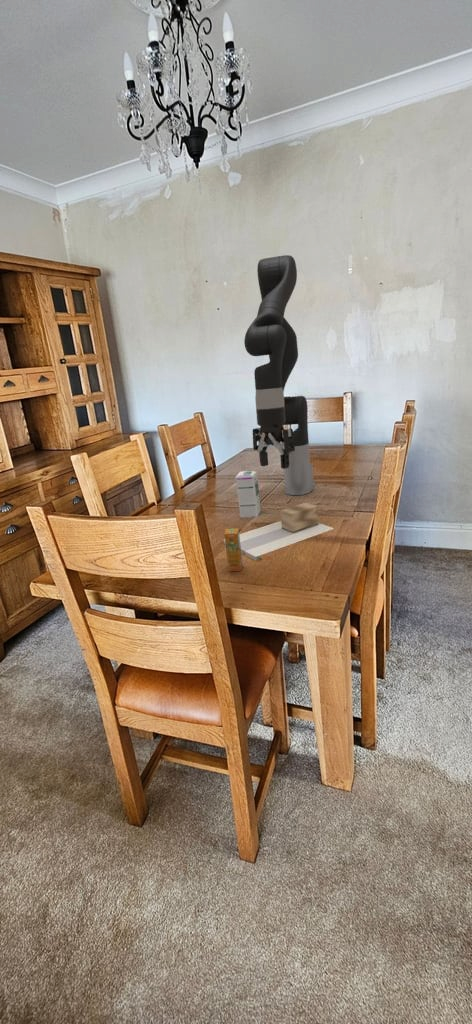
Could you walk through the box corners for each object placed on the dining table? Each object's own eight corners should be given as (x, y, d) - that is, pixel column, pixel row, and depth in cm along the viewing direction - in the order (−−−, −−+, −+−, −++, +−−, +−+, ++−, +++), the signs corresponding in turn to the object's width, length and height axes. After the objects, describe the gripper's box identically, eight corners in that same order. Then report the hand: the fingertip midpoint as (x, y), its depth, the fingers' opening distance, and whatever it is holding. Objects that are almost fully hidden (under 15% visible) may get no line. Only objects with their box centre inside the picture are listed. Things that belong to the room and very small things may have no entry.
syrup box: (258, 520, 147) (254, 474, 142) (240, 521, 148) (235, 475, 143) (261, 514, 152) (257, 470, 147) (243, 515, 153) (238, 471, 149)
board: (297, 519, 144) (297, 515, 144) (334, 532, 131) (334, 528, 131) (223, 543, 132) (223, 539, 132) (256, 561, 119) (255, 556, 119)
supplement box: (227, 572, 115) (223, 533, 112) (230, 565, 118) (225, 528, 115) (241, 571, 114) (237, 532, 111) (243, 565, 117) (239, 527, 114)
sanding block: (306, 520, 139) (305, 502, 137) (318, 524, 135) (317, 506, 133) (281, 528, 135) (280, 510, 133) (292, 533, 131) (291, 514, 129)
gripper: (299, 404, 123) (302, 466, 127) (263, 405, 134) (268, 462, 138) (277, 407, 119) (281, 471, 123) (242, 408, 130) (247, 467, 134)
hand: (274, 467), depth 131 cm, fingers open, 8 cm apart
